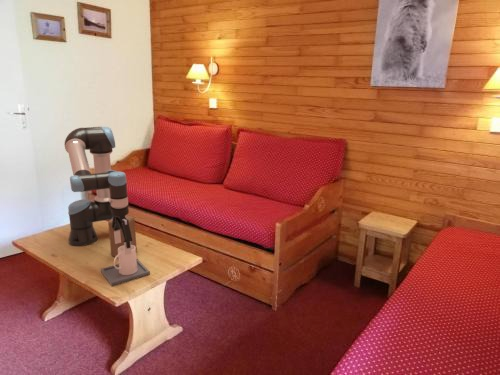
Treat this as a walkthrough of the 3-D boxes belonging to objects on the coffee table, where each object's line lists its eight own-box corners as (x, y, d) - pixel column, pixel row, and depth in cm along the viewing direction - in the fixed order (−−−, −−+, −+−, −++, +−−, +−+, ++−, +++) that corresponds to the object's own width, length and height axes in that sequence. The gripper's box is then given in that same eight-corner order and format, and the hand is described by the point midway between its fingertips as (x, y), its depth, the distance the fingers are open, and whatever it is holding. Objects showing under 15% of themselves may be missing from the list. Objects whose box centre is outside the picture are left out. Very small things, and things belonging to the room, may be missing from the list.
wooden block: (128, 258, 193) (125, 222, 187) (110, 256, 195) (107, 221, 189) (137, 250, 202) (135, 216, 197) (120, 248, 204) (117, 214, 198)
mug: (119, 279, 171) (117, 256, 168) (109, 273, 176) (107, 250, 173) (141, 270, 180) (139, 247, 176) (131, 264, 185) (129, 242, 182)
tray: (100, 272, 179) (100, 268, 179) (137, 261, 190) (137, 258, 189) (111, 286, 167) (111, 282, 166) (149, 274, 178) (149, 271, 177)
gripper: (102, 199, 176) (106, 240, 182) (120, 216, 157) (124, 261, 163) (118, 197, 180) (121, 237, 187) (138, 212, 162) (140, 256, 168)
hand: (123, 248), depth 175 cm, fingers open, 13 cm apart
